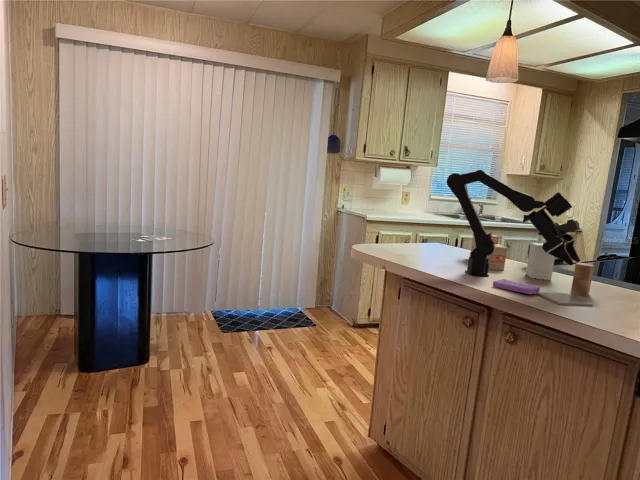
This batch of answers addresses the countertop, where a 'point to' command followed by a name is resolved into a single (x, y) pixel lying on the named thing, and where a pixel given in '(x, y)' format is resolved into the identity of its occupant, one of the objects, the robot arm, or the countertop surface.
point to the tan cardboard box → (495, 255)
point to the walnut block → (582, 279)
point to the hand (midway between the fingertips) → (575, 263)
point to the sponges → (516, 286)
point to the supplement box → (539, 262)
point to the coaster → (564, 299)
